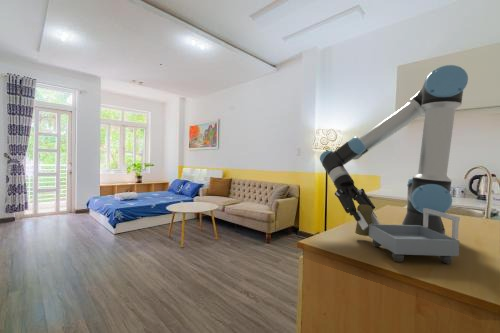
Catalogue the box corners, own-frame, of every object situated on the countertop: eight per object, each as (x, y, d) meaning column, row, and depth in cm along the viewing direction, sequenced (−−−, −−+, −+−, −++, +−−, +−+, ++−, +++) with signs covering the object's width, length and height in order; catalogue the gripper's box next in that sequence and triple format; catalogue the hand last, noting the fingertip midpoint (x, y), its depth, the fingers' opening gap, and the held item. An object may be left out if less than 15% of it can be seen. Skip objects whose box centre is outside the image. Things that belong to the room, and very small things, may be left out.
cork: (375, 236, 85) (376, 206, 85) (357, 235, 86) (358, 205, 86) (370, 232, 91) (371, 203, 90) (353, 230, 92) (354, 203, 92)
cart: (422, 246, 83) (423, 207, 83) (461, 266, 67) (463, 218, 67) (368, 244, 83) (369, 206, 83) (394, 264, 67) (396, 216, 67)
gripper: (353, 184, 106) (384, 230, 90) (319, 185, 100) (346, 234, 85) (363, 173, 101) (397, 220, 85) (327, 173, 95) (357, 223, 79)
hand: (372, 227), depth 85 cm, fingers closed on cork, 5 cm apart
